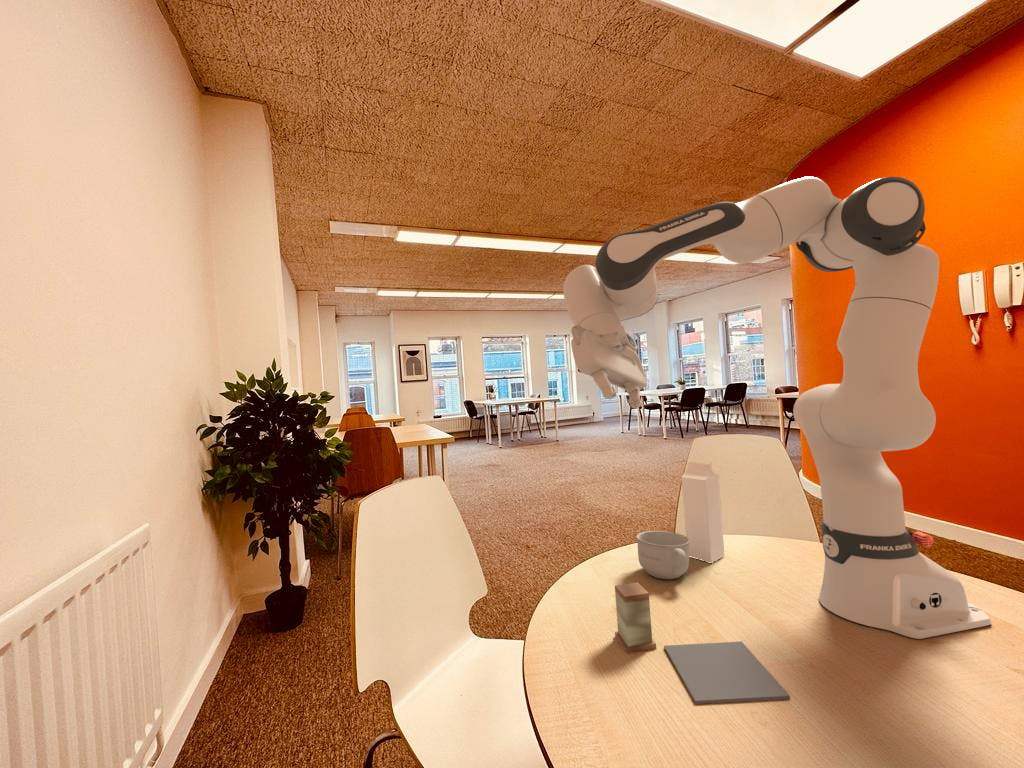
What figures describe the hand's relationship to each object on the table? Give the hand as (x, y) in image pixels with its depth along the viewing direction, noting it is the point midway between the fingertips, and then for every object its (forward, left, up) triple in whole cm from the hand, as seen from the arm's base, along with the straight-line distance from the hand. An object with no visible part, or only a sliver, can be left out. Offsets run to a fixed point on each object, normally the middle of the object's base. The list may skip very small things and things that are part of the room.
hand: (624, 402), depth 77 cm
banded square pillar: (+3, +7, -38) cm, 39 cm away
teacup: (-10, -16, -38) cm, 43 cm away
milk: (-22, -25, -38) cm, 51 cm away
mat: (-7, +15, -38) cm, 42 cm away
